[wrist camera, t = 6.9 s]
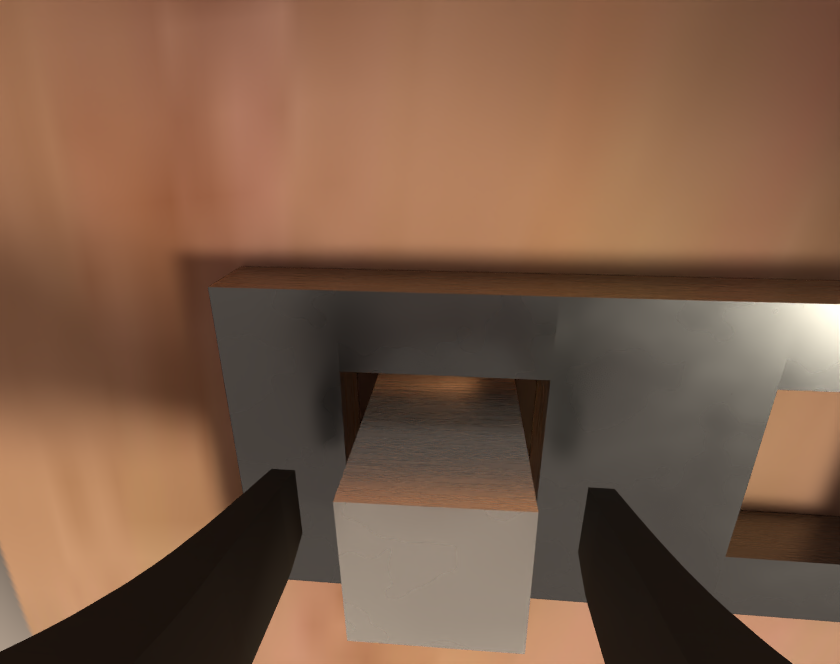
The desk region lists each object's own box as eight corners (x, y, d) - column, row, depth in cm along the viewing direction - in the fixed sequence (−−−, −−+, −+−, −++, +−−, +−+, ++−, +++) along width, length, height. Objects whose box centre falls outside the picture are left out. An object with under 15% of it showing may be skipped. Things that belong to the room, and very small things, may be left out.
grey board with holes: (1124, 287, 13) (1249, 318, 11) (959, 578, 16) (1028, 642, 14) (240, 266, 14) (204, 289, 12) (278, 531, 18) (254, 582, 16)
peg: (512, 370, 15) (538, 512, 10) (506, 477, 17) (524, 654, 11) (381, 366, 15) (332, 501, 10) (386, 472, 17) (347, 640, 11)
